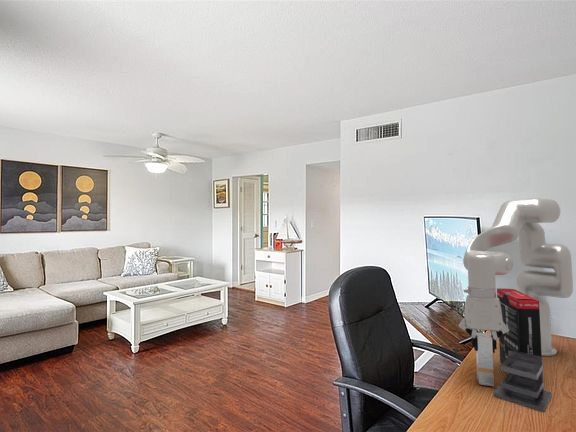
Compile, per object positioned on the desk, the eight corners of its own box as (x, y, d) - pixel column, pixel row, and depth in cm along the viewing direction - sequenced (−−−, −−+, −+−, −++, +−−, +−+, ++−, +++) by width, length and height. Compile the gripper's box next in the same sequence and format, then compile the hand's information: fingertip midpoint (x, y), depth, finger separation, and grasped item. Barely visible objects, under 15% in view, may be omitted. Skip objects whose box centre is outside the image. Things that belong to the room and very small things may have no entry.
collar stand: (504, 382, 107) (503, 347, 107) (551, 395, 98) (550, 358, 98) (493, 396, 98) (492, 358, 99) (544, 412, 90) (542, 371, 90)
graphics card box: (545, 386, 103) (542, 298, 104) (520, 385, 105) (517, 298, 105) (518, 363, 120) (516, 288, 121) (497, 362, 121) (495, 287, 122)
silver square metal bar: (476, 378, 108) (475, 332, 109) (491, 380, 107) (489, 333, 107) (479, 384, 105) (477, 336, 105) (494, 386, 103) (492, 337, 103)
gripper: (454, 293, 106) (456, 351, 105) (516, 296, 100) (518, 358, 99) (451, 289, 113) (453, 343, 112) (509, 291, 107) (511, 348, 106)
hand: (484, 349), depth 106 cm, fingers closed on silver square metal bar, 4 cm apart
